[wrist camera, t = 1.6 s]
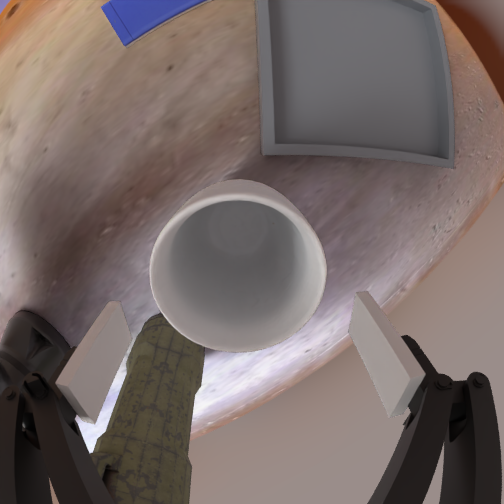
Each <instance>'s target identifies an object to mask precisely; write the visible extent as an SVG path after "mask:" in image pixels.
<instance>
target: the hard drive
mask: <svg viewBox="0 0 504 504" xmlns="http://www.w3.org/2000/svg"><path fill="white" fill-rule="evenodd" d="M210 1H212V0H110V1H109V2H107V3H106V4H104V5H103V6H102V7H101V8H102V10H103V12H104V13H105V15H106V17H107V18H108V20H109V22H110V23H111V25H112V27H113V28H114V30H115V32H116V33H117V35H118V37H119V38H120V40H121V42H122V43H123V45H124V46H125V47H126V48H128V47H129V46H131V45H132V44H134V43H135V42H137V41H138V40H140V39H141V38H143V37H145V36H146V35H148V34H149V33H151V32H153V31H154V30H156V29H158V28H159V27H161V26H163V25H164V24H166V23H168V22H170V21H171V20H173V19H175V18H177V17H179V16H181V15H183V14H185V13H186V12H188V11H190V10H192V9H195V8H197V7H199V6H201V5H203V4H205V3H207V2H210Z"/></svg>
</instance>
